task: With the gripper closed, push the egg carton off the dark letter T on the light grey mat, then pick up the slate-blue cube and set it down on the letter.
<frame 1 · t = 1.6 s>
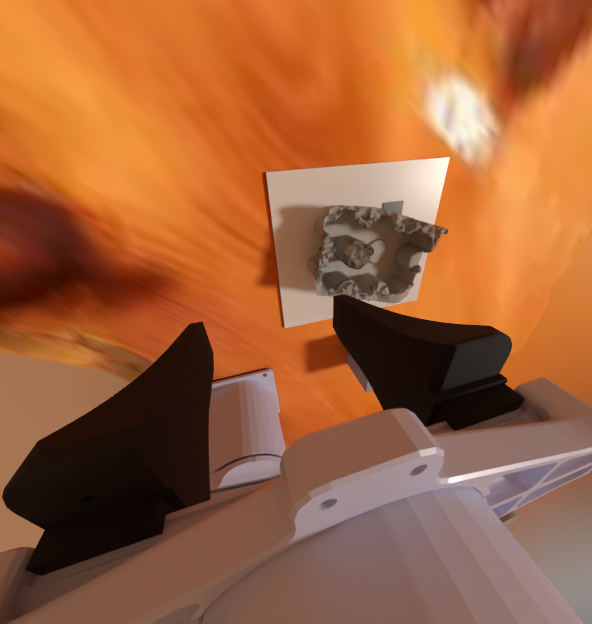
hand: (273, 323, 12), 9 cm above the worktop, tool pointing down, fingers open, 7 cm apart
cube: (365, 342, 29), on the worktop
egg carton: (358, 250, 22), resting on letter mat
letter mat: (358, 250, 22), on the worktop
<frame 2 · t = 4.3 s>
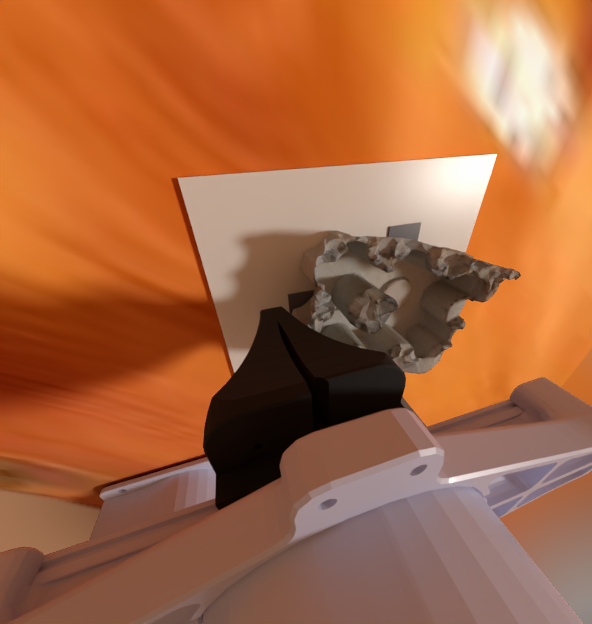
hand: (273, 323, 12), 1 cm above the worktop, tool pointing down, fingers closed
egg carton: (369, 293, 15), resting on letter mat, touching gripper
letter mat: (349, 296, 14), on the worktop
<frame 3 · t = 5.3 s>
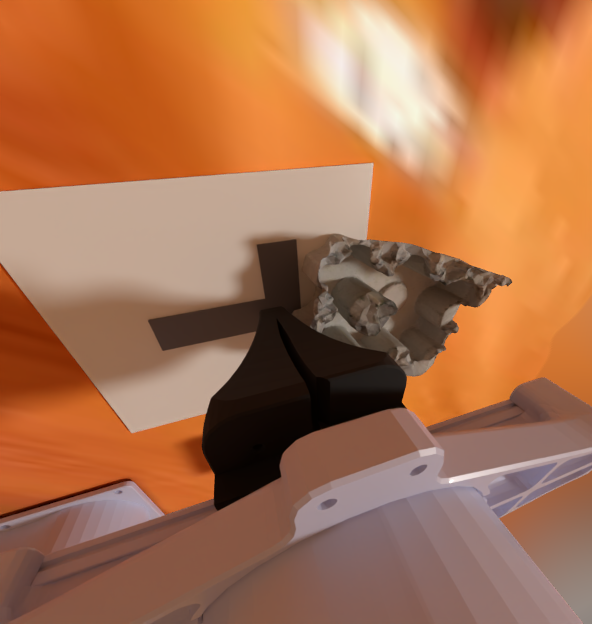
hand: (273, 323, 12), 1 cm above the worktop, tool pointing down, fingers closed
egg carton: (367, 297, 15), on the worktop, touching gripper
letter mat: (232, 318, 13), on the worktop
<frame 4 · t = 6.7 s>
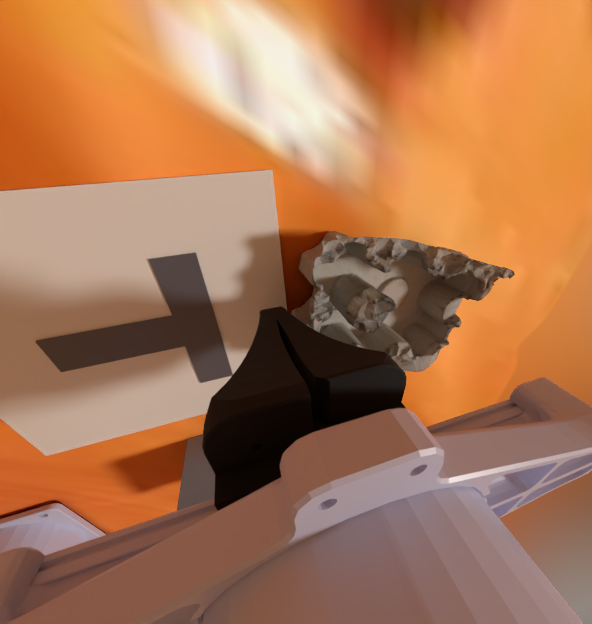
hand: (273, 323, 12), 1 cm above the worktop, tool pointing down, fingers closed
cube: (228, 445, 19), on the worktop
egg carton: (367, 293, 15), on the worktop, touching gripper, letter mat
letter mat: (140, 336, 12), on the worktop
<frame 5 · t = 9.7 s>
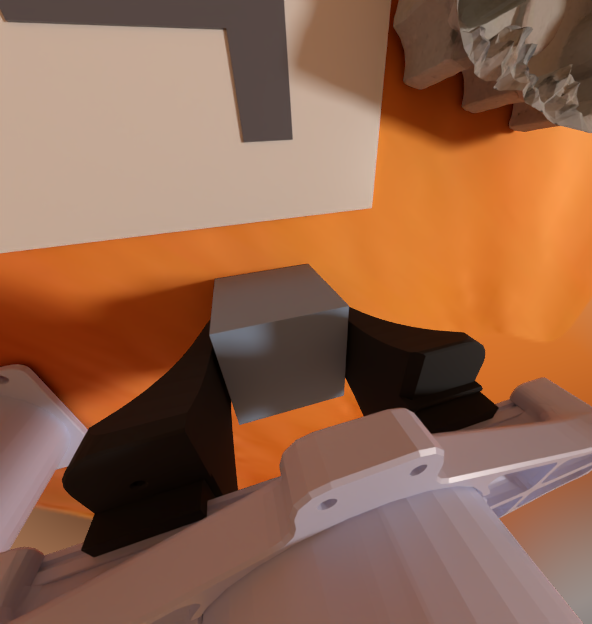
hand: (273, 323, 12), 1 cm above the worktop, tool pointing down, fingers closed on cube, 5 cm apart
cube: (269, 311, 13), on the worktop, touching gripper
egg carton: (501, 13, 9), on the worktop, touching letter mat
when the fingers open (3 cm above the worktop, at t = 14.0 s): cube drops 1 cm, resting on letter mat.
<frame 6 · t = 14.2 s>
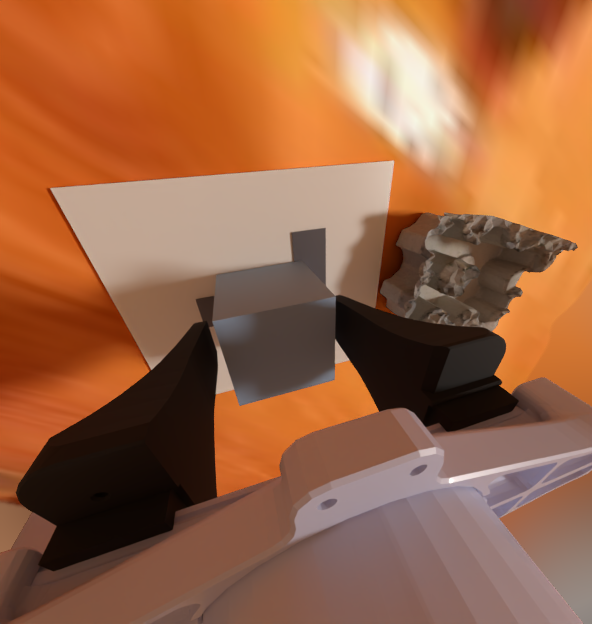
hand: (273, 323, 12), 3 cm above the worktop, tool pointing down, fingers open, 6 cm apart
cube: (266, 304, 15), resting on letter mat
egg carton: (440, 268, 17), on the worktop, touching letter mat
letter mat: (265, 299, 15), on the worktop
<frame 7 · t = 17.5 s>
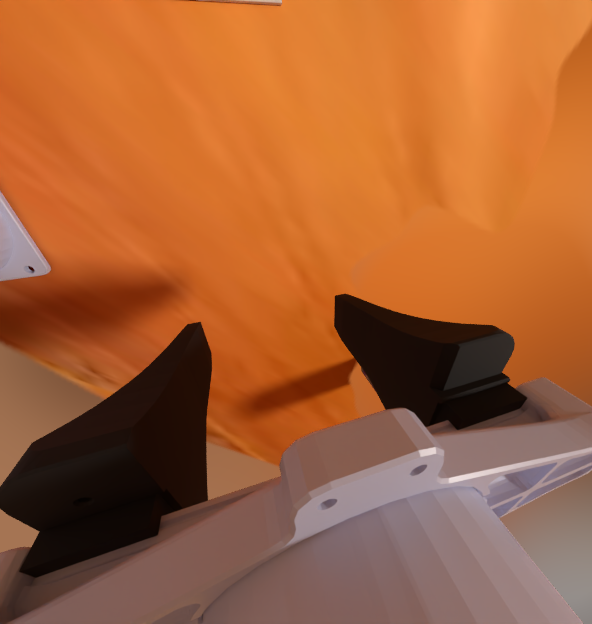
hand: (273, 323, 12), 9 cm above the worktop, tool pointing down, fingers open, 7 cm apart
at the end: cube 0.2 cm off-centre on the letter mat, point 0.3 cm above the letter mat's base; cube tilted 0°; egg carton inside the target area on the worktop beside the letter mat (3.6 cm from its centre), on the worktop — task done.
